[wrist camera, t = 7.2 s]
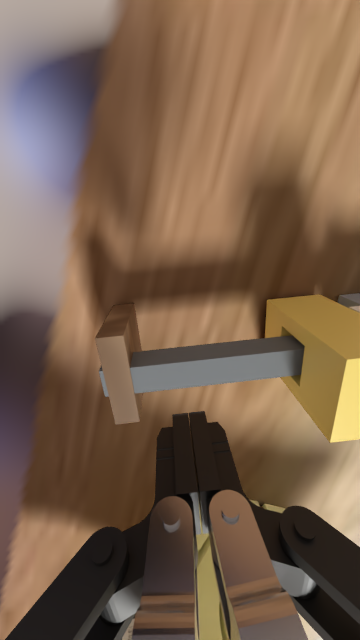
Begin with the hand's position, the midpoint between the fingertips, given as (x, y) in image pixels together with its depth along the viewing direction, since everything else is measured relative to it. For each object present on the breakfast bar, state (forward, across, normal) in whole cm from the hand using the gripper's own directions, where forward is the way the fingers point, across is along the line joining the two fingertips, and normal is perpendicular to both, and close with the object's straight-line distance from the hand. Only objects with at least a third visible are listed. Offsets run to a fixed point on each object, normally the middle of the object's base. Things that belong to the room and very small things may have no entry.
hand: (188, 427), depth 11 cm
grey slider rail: (+5, -5, -1) cm, 7 cm away
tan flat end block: (+9, +4, -1) cm, 9 cm away
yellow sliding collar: (+9, -9, -1) cm, 13 cm away
